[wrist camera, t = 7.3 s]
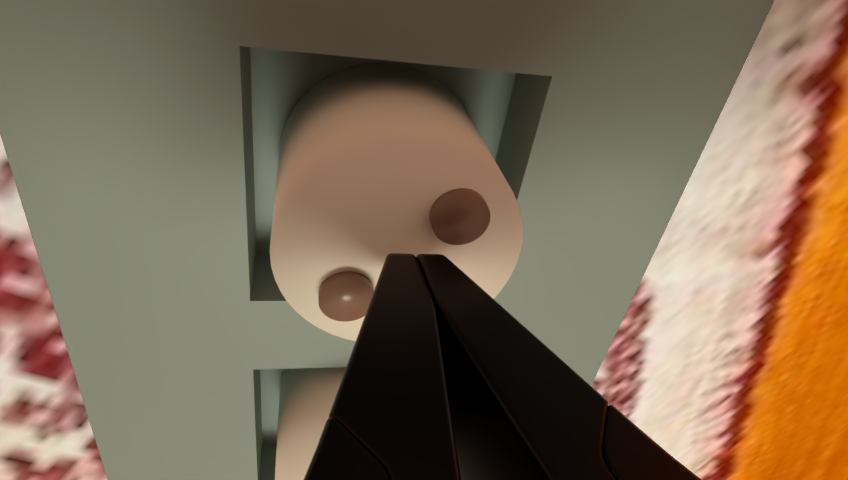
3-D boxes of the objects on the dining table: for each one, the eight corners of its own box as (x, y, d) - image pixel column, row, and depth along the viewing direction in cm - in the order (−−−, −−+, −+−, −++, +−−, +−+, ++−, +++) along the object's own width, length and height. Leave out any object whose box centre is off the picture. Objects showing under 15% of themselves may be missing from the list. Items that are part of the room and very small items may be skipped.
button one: (279, 433, 16) (273, 555, 13) (280, 334, 14) (272, 456, 11) (414, 426, 17) (435, 539, 14) (435, 332, 15) (464, 444, 12)
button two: (279, 238, 12) (270, 355, 9) (278, 53, 10) (266, 134, 7) (456, 242, 13) (495, 349, 10) (493, 73, 11) (557, 153, 8)
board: (138, 449, 16) (119, 517, 14) (-200, -947, 5) (-464, -1355, 3) (524, 428, 19) (544, 483, 17) (894, -500, 7) (1057, -595, 6)
